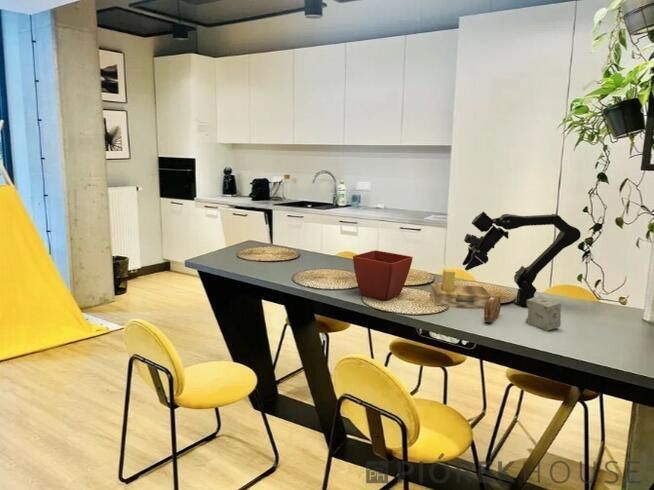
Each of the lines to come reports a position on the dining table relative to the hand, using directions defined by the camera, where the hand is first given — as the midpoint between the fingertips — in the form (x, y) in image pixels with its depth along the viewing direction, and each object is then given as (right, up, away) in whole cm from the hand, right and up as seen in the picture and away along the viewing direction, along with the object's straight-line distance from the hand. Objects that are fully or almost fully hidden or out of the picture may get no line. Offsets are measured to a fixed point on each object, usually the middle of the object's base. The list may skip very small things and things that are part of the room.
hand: (464, 267), depth 218 cm
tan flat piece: (-2, -14, 0) cm, 14 cm away
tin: (+5, -19, -21) cm, 29 cm away
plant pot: (-35, -12, +4) cm, 37 cm away
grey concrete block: (+22, -21, -26) cm, 40 cm away
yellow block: (-7, -13, 0) cm, 15 cm away
